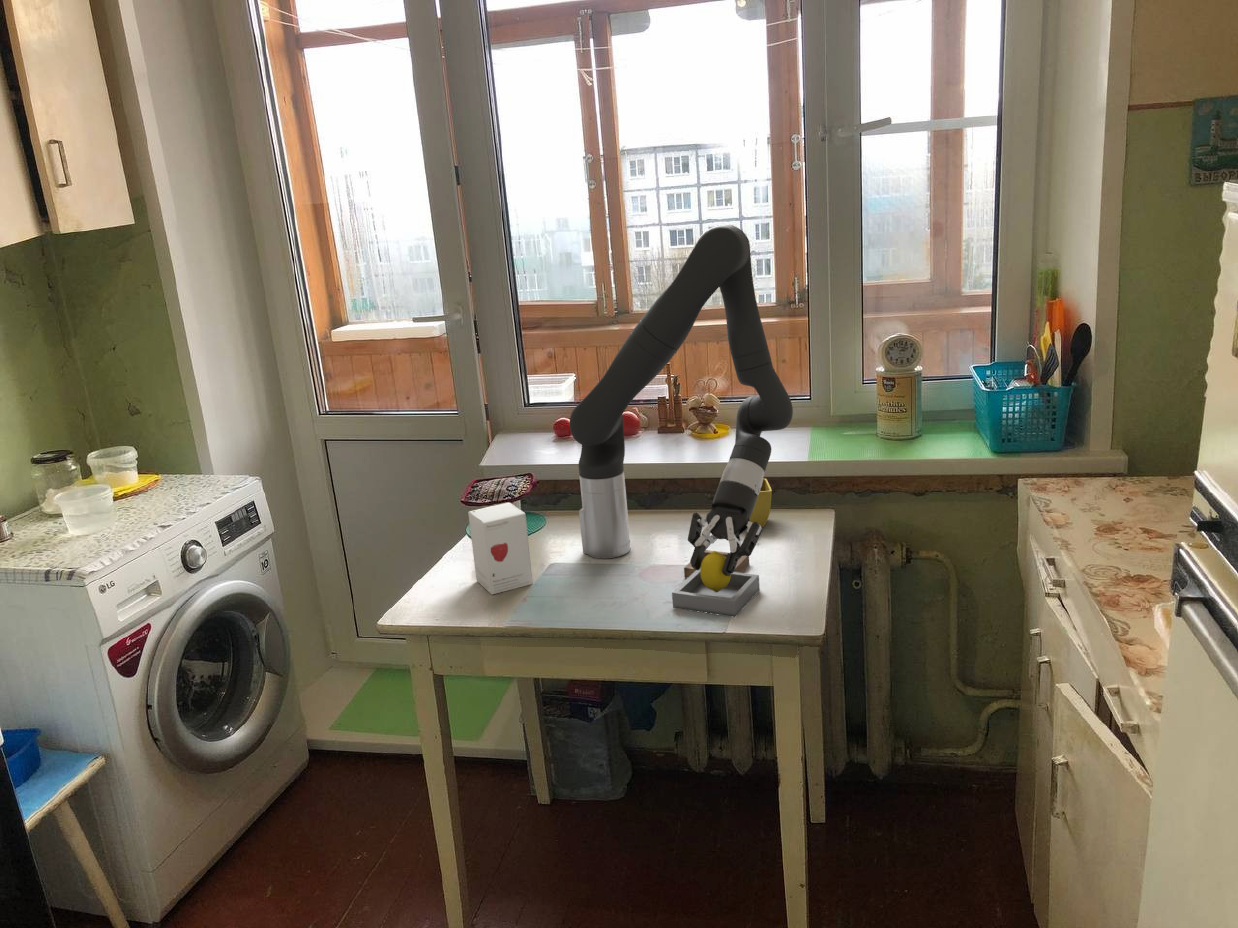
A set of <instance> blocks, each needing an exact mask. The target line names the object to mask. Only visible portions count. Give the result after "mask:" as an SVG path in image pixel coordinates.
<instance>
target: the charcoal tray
mask: <svg viewBox="0 0 1238 928" xmlns="http://www.w3.org/2000/svg"><path fill="white" fill-rule="evenodd" d="M700 569H701V568H700ZM700 569H699V570H696V571H695V572H694V573H693V574H692V575H690V576H689V577H688V578H686V579H685V580H684V581H683V582H681V584H679V585H678V587H676V588H675V589H674V590H673V591H672V592H671V597H672V608H673V609H677V610H678V609H679V610H684V611H690V610H692V611H691V612H697V611H699V612H698V613H704V612H707V613H706V614H710V613H712V615H717V614H718V615H717V616H724V617H732V618H736V617H737V616H738V615H739V614H740V612H742V611H743V609H744V608H745V607H746V606H747V605H748V604H749V603H750V601H751V600H752V599H753V598H754V597H755V596H756V595H757V593H758V592H760V575H759V574H753V573H745V572H741V573H739V572H733V573H731V578H730V581H729V583H728V585H727V586H726V587H725V588H723V589H721V590H720V591H719V592H714V591H713V590H711V589H708V588H707V587H706V586H705V585H704V584H703V582H702V579H701V575H700Z"/></svg>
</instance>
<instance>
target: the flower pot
mask: <svg viewBox="0 0 1238 928" xmlns="http://www.w3.org/2000/svg"><path fill="white" fill-rule="evenodd" d="M772 491H773V490H772V487H771V485H770V483H769V482H768V479H767V478H763V482H762V486H761V490H760V493H759V495H758V498H757V501H756V504H755V507H754V510H753V513H752V515H751V517H750V522H758V524H759V525H760V526H761V527H765V524H767V522H768V520H769V516H770V513H771V508H772V507H771V506H772V496H773V495H772V493H773V492H772Z"/></svg>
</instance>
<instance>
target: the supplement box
mask: <svg viewBox="0 0 1238 928" xmlns="http://www.w3.org/2000/svg"><path fill="white" fill-rule="evenodd" d="M467 514H468V521H469V522H468V523H469V529H470V530H469V531H470V537H471V538H470V539H471V546H472V554H473V563H474V569H475V579H476V582H478V583H479V585H481V586H482V587H483V588H484V589H485V590H486V591H487V592H488V593H489V594H490V595H491V596H492V595H495V594H499V593H503V592H507V591H511V590H515V589H518V588H522V587H527V586H530V585H533V584H534V580H533V572H532V571H533V570H532V562H531V554H530V553H531V552H530V544H529V543H530V542H529V536H528V535H529V534H528V533H529V532H528V524H527V517H526V513H525V512H524V511H523V510H521V509H520V508H518V506H517V507H516V505H514V504H512V503H511V502H504V503H499V504H496V505H491V506H486V507H482V508H479V509H474V510H470V511H468V512H467Z"/></svg>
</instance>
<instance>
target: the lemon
mask: <svg viewBox="0 0 1238 928" xmlns="http://www.w3.org/2000/svg"><path fill="white" fill-rule="evenodd" d="M712 551H713V552H712V553H710V554H708V555H706V556H705V557H704V559H703V560H702V563H701V569H700V575H701V579H702V582H703V584H704V585H705V586H706V587H707V588H708V589H711V590H713V591H714V592H719V591H720V590H721V589H723V588H725V587H726V586H727V585H728V583H729V581H730V578H731V575H730V576H725V575H724V574H723V573H722V569H723V566H724V563H725V560H726V557H725V556H724V555H723V554H721V553H717V552H716V551H717V550H712Z"/></svg>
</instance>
